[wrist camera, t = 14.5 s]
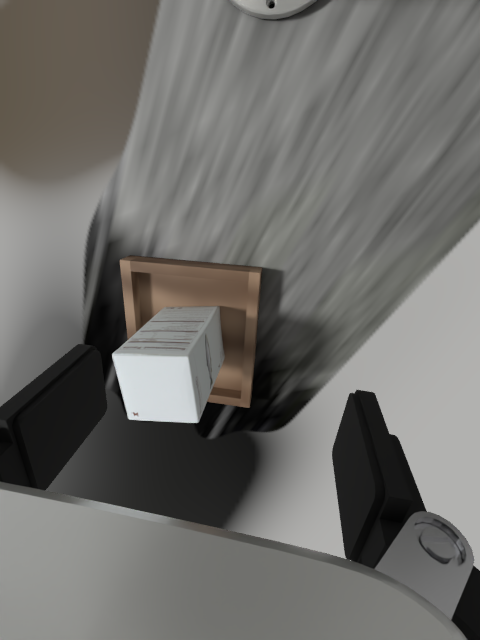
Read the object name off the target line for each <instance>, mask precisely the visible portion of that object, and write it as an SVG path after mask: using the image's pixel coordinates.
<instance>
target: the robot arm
mask: <svg viewBox="0 0 480 640" xmlns="http://www.w3.org/2000/svg"><path fill="white" fill-rule="evenodd" d="M229 1H230V2H231V3H232V4H233V5H234V6H235V7H236V8H238V9H240V10H241V11H243V12H244V13H246V14H248V15H251V16H254V17H257V18H260V19H280V18H285V17H289V16H292V15H294V14H296V13H299V12H301V11H303V10H304V9H306V8H307V7H309V6H310V5H312V4H313V3H314V2H316V1H317V0H229ZM271 4H274V5H275V7H274V8H272V9H270V8H269V6H270V5H271ZM106 410H107V400H106V393H105V385H104V377H103V369H102V361H101V354H100V352H99V351H97V349H96V347H94V346H89V345H83V344H78V345H77V346H75V347H74V348H73V349H72V350H70V351H69V352H68V353H67V354H65V355H64V356H63V357H62V358H61V359H59V360H58V361H57V362H55V363H54V364H53V365H52V366H51V367H49V368H48V369H47V370H46V371H44V372H43V373H42V374H41V375H39V376H38V377H37V378H36V379H34V380H33V381H32V382H31V383H30V384H28V385H27V386H26V387H24V388H23V389H22V390H21V391H19V392H18V393H17V394H16V395H15V396H13V397H12V398H11V399H10V400H8V401H7V402H6V403H5V404H3V405H2V406H1V407H0V640H480V571H479V570H478V569H477V568H476V567H475V566H473V563H474V556H473V552H472V549H471V547H470V545H469V544H468V541H467V540H466V538H465V537H464V536H463V535H462V533H461V532H460V531H459V530H458V529H457V528H456V527H455V526H454V525H453V524H451V523H450V522H449V521H447V520H446V519H444V518H442V517H441V516H439V515H436V514H434V513H431V512H427V511H426V509H425V506H424V503H423V501H422V498H421V496H420V493H419V491H418V488H417V485H416V483H415V480H414V478H413V475H412V472H411V470H410V467H409V465H408V462H407V460H406V457H405V454H404V452H403V449H402V446H401V444H400V441H399V440H398V438H397V437H396V436H395V435H391V434H389V432H388V429H387V426H386V424H385V421H384V418H383V415H382V412H381V409H380V407H379V404H378V401H377V398H376V395H375V393H373V392H367V391H361V390H356V392H355V394H354V393H350V394H349V397H348V400H347V403H346V407H345V410H344V413H343V416H342V420H341V423H340V426H339V430H338V433H337V436H336V439H335V443H334V446H333V451H332V459H333V466H334V474H335V482H336V489H337V496H338V504H339V511H340V520H341V527H342V534H343V543H344V550H345V556H346V558H347V559H348V560H347V559H344V558H340V557H337V556H333V555H330V554H327V553H322V552H318V551H314V550H310V549H306V548H302V547H297V546H293V545H290V544H285V543H281V542H277V541H273V540H268V539H264V538H260V537H255V536H251V535H246V534H242V533H237V532H233V531H228V530H224V529H220V528H215V527H211V526H206V525H201V524H197V523H193V522H188V521H183V520H179V519H175V518H169V517H165V516H161V515H156V514H152V513H147V512H143V511H138V510H133V509H129V508H124V507H120V506H115V505H110V504H106V503H101V502H96V501H92V500H87V499H82V498H78V497H73V496H68V495H63V494H58V493H54V492H49V491H45V490H46V489H47V488H48V487H49V485H50V484H51V483H52V481H53V480H54V479H55V478H56V476H57V475H58V474H59V472H60V471H61V470H62V469H63V467H64V466H65V465H66V463H67V462H68V461H69V459H70V458H71V457H72V456H73V454H74V453H75V452H76V451H77V449H78V448H79V447H80V445H81V444H82V443H83V442H84V440H85V439H86V438H87V436H88V435H89V434H90V433H91V431H92V430H93V429H94V427H95V426H96V425H97V424H98V422H99V421H100V420H101V418H102V417H103V416H104V414H105V412H106ZM350 560H352V561H350Z"/></svg>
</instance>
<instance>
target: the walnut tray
mask: <svg viewBox="0 0 480 640" xmlns="http://www.w3.org/2000/svg"><path fill="white" fill-rule="evenodd" d="M120 267H121V276H122V286H123V296H124V306H125V316H126V325H127V335H128V340H129V339H130V338H131V337H132V336H133V335H134V334H135V333H136V332H137V331H139V330H140V329H141V328H142V327H143V326H144V325H145V324H146V323H147V322H148V321H150V320H151V319H152V318H153V317H154V316H155V315H156V314H157V313H158V312H160V311H161V310H162V309H163V308H164V307H193V306H195V307H197V306H219V307H220V321H221V332H222V341H223V349H224V355H225V358H224V361H223V363H222V366H221V368H220V371H219V373H218V376H217V378H216V381H215V383H214V385H213V388H212V390H211V393H210V395H209V398H208V400H207V402H213V403H220V404H227V405H234V406H240V407H247V408H249V407H250V402H251V397H252V386H253V374H254V362H255V350H256V338H257V326H258V314H259V302H260V290H261V278H262V267H252V266H241V265H230V264H219V263H208V262H197V261H186V260H175V259H164V258H153V257H142V256H131V255H130V256H128V257H126V258H123V259H121V260H120Z"/></svg>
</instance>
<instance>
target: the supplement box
mask: <svg viewBox="0 0 480 640" xmlns="http://www.w3.org/2000/svg"><path fill="white" fill-rule="evenodd" d="M112 358H113V361H114V365H115V368H116V373H117V376H118V380H119V384H120V389H121V392H122V395H123V399H124V403H125V407H126V411H127V415H128V419H129V420H144V421H165V422H166V421H167V422H186V423H198V422H199V420H200V417H201V415H202V412H203V410H204V407H205V405H206V402H207V400H208V398H209V395H210V393H211V390H212V388H213V385H214V383H215V381H216V378H217V376H218V373H219V371H220V368H221V366H222V363H223V361H224V358H225V355H224V349H223V341H222V332H221V321H220V307H219V306H197V307H195V306H193V307H164V308H163V309H162V310H161V311H160V312H158V313H157V314H156V315H155V316H154V317H153V318H152V319H151V320H150V321H148V322H147V323H146V324H145V325H144V326H143V327H142V328H141V329H140V330H139V331H137V332H136V333H135V334H134V335H133V336H132V337H131V338H130V339H129V340H128V341H127V342H125V343H124V344H123V345H122V346H121V347H120V348H119V349H118V350H116V351H115V352H114V353H113V354H112Z"/></svg>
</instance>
